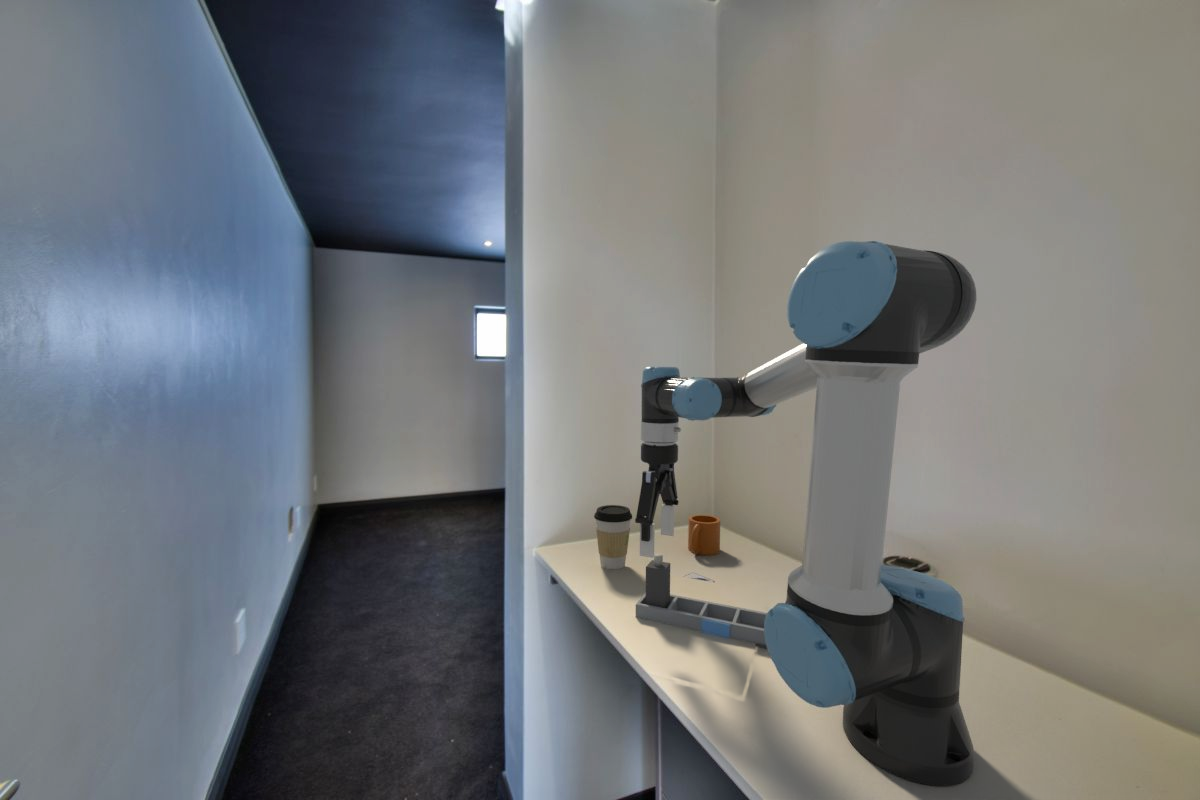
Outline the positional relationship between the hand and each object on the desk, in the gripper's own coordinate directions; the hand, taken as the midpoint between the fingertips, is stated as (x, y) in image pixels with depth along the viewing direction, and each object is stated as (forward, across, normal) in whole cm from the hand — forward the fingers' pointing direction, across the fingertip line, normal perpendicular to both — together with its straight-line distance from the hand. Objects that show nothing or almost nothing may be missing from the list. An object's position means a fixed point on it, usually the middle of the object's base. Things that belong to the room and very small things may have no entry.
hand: (657, 545), depth 103 cm
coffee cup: (+15, +20, +18) cm, 31 cm away
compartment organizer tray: (+15, 0, -10) cm, 18 cm away
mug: (+15, +41, 0) cm, 43 cm away
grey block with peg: (+14, 0, 0) cm, 14 cm away
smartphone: (+15, +16, -2) cm, 22 cm away
